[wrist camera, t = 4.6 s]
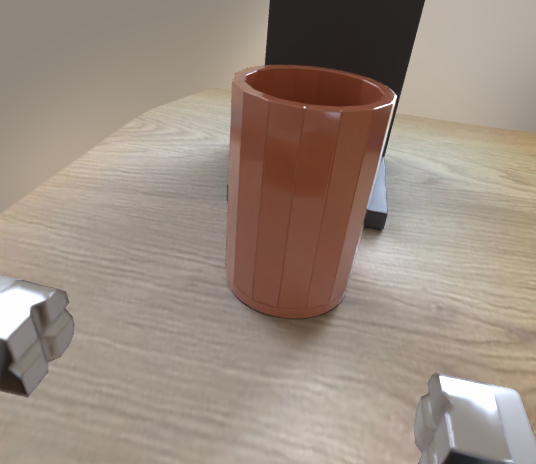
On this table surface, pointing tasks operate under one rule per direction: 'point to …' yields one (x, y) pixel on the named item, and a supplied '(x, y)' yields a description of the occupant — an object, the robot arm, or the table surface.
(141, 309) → the table surface
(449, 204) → the table surface
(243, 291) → the cup
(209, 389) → the table surface
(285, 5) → the coffee maker
